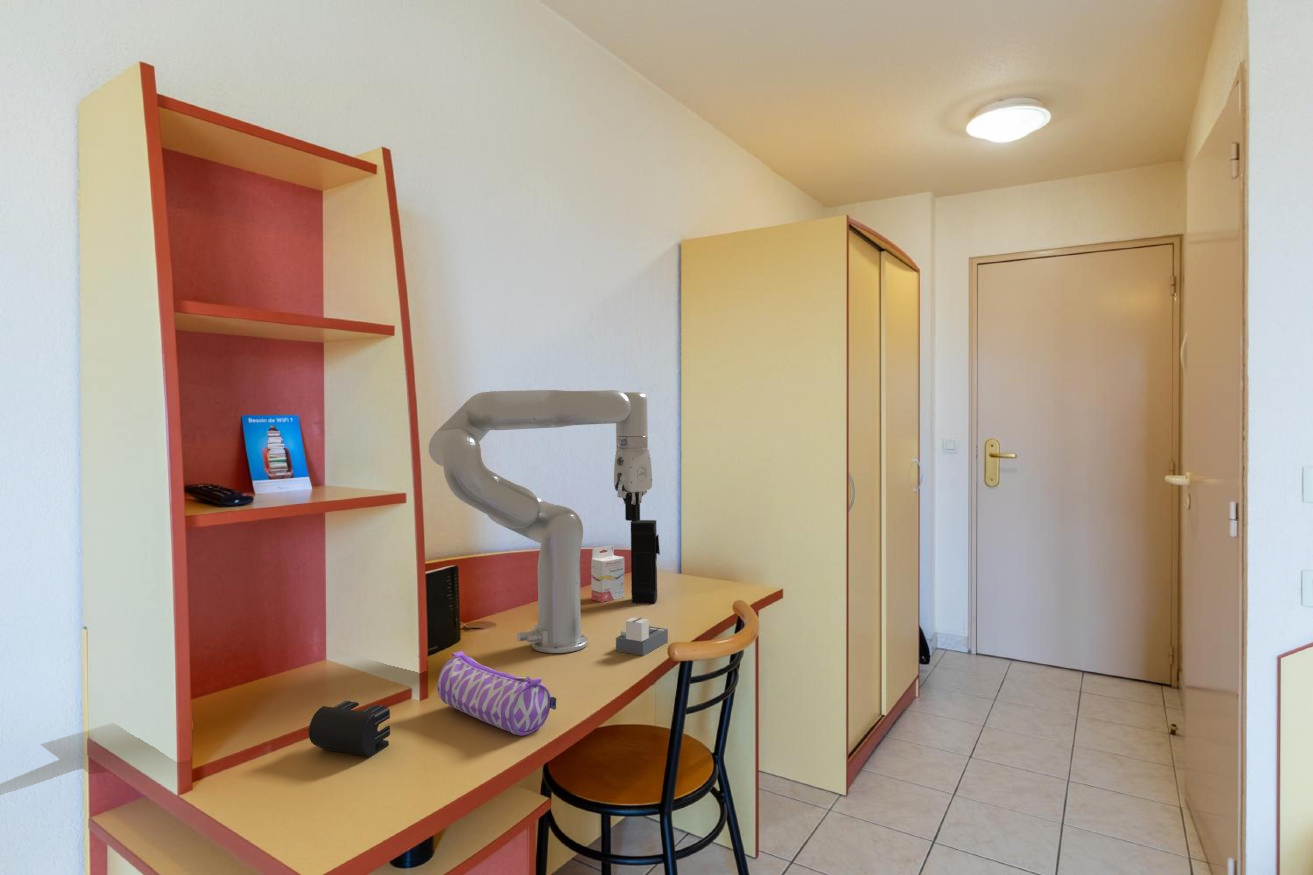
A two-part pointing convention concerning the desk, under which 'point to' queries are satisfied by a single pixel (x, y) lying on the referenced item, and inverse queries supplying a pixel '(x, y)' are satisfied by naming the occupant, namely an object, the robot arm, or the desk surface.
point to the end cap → (350, 729)
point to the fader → (637, 629)
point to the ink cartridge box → (606, 574)
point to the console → (642, 648)
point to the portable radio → (644, 561)
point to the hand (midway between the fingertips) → (632, 520)
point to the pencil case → (494, 695)
